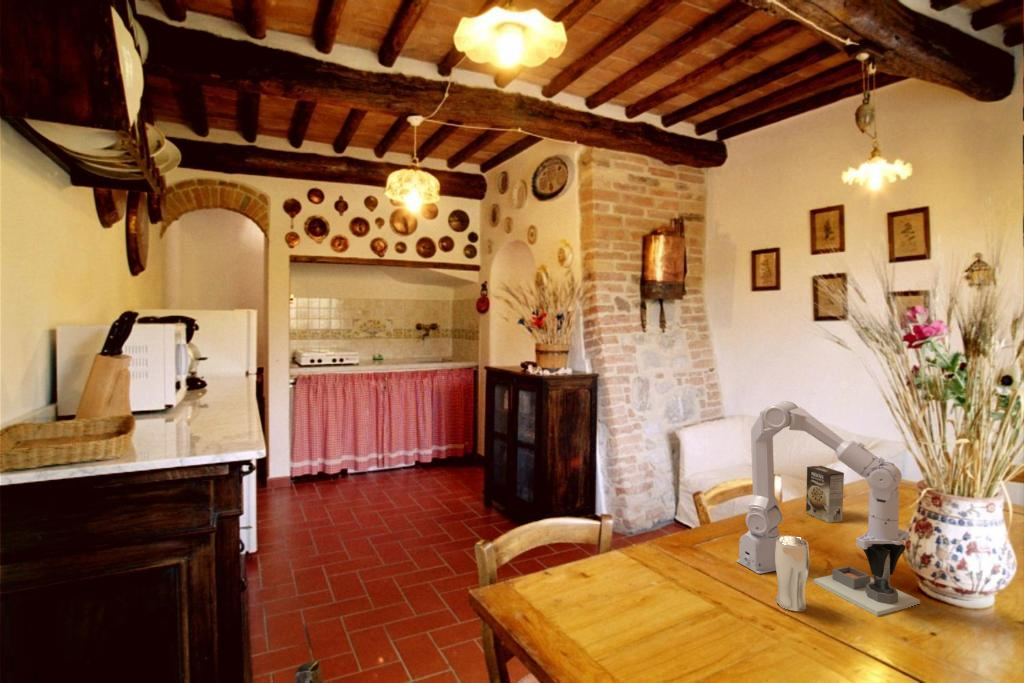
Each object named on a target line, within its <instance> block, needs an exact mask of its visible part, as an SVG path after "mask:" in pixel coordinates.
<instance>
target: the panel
mask: <svg viewBox="0 0 1024 683" xmlns="http://www.w3.org/2000/svg"><path fill="white" fill-rule="evenodd" d="M846 573H852V574H854V575H856V576H858V577H855V578H852V577H850V576H848V575H846ZM813 584H815V585H817V586H819V587H820V588H823V589H825V590H827V591H829V592H830V593H832V594H834V595H836V596H838V597H840V598H842V599H844V600H846V601H847V602H849V603H851V604H854V605H855V606H858V607H859V608H860V609H862V610H865V611H867V612H869V613H871V614H873V615H874V616H876V617H879V616H883V615H886V614H890V613H894V612H898V611H900V610H901V611H902V610H905V609H909V608H912V607H911V606H913V607H915V606H914V605H916V606H918V605H917V604H920V605H921V599H919V598H917V597H914V596H912V595H910V594H908V593H905V592H904V591H901V590H899V589H897V588H894V586H893V587H892V586H891V585H890V588H889V589H888V590H884V589H880V588H877V587H875V586H874V577H872V576H871V575H870V574H868V573H866V572H864V571H861V570H860V569H857V568H855V567H852V566H850V565H846V566H842V567H838V568H832V574H831V575H826V576H825V575H824V576H821V577H815V578H814V579H813ZM908 607H909V608H908Z"/></svg>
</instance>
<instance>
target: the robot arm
mask: <svg viewBox="0 0 1024 683" xmlns="http://www.w3.org/2000/svg"><path fill="white" fill-rule="evenodd" d="M787 427H788V429H789V431H799V432H805V433H807V434H808V435H810V436H811V437H813V438H815V439H816V440H818V441H819V442H821V443H822V444H824V445H825V446H827V447H828V448H830V449H831V450H833V451H834V452H835V454H836V458H837V460H838V461H840V462H841V463H843V464H844V465H845V466H847V467H848V468H850V469H851V470H852V471H853V472H855V473H856V474H858V475H859V476H860V477H862V478H865V481H866V483H867V484H868V486H869V494H868V515H867V516H868V519H867V520H868V523H867V524H868V526H867V528H868V529H867V530H868V531H866V532H865V533H864V534H862V535H861V536H858V537H856V539H855V540H856V544H855V545H856V547H858V548H860V549H862V551H863V552H864V554H865V556H866V559H867V562H868V565H869V569H870V572H871V575H873V576H874V575H875V576H877V577H880V578H881V577H882V576H883V573H884V565H885V561H886V558H887V556H888V554H889V552H890V576H892V575H894V573H895V570H896V568H897V567H896V566H897V563H898V561H899V559H900V557H901V556H902V554H903V553H904V552H905V550H906V545H904V541H905V542H907V541H909V539H910V538H909V537H910V536H909V535H910V534H909V533H910V532H908V531H906V530H904V529H899V524H900V523H899V520H900V519H899V518H900V517H899V516H900V498H899V495H900V491H899V490H900V489H899V485H900V483H901V481H902V479H903V478H902V473H901V472H902V471H901V470H900V469H899V468H898V467H897V466H896V465H895V464H894V463H893V462H890V461H885V459H884V458H883V457H882V456H880V457H878V456H876V455H875V454H874V453H872V452H871V451H869V450H868V449H867V448H866V447H865V446H866V445H865V444H864V443H863V442H861V441H859V442H858V443H857V442H856V441H855V440H844V439H843V438H842V437H841V436H839V435H838V434H836V433H835V432H834V431H833V430H832V429H830V428H829V427H827V426H826V425H825V424H823V423H822V422H820V420H818V419H817V418H816V417H814V416H812V414H810V413H809V412H808V411H807V410H806V409H804V408H802V407H799V406H798V405H797V404H796V403H794V402H792V401H789V400H787V401H786V400H785V401H781V402H779V403H777V404H771V405H769V406H767V407H765V408H764V409H763V410H761V411H760V412H759V416H758V417H757V419H756V421H755V422H754V423H753V425H752V427H751V429H750V444H751V471H752V472H751V475H752V476H751V478H752V479H751V480H752V497H751V499H750V502H749V505H748V512H747V514H746V515H745V524H746V526H747V528H748V531H747V532H746V533H745V534H743V535H741V536H740V537H739V542H738V544H739V545H738V549H739V550H738V551H739V552H738V559H736V562H737V563H739V564H740V565H742V566H743V567H746V568H747V569H749V570H751V571H752V572H755V573H757V574H758V575H760V574H761V575H762V574H765V573H770V572H774V571H775V572H776V567H775V545H776V537H778V536H780V532H779V527H778V526H780V524H781V523H782V521H783V513H782V511H781V509H780V507H779V501H778V499H777V497H776V495H775V470H774V469H775V465H774V463H775V462H774V436H776V435H777V434H778V433H780V432H781V431H782V430H783V429H785V428H787ZM881 546H885V547H888V548H890V551H888V550H885V549H883V548H882V547H881Z"/></svg>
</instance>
